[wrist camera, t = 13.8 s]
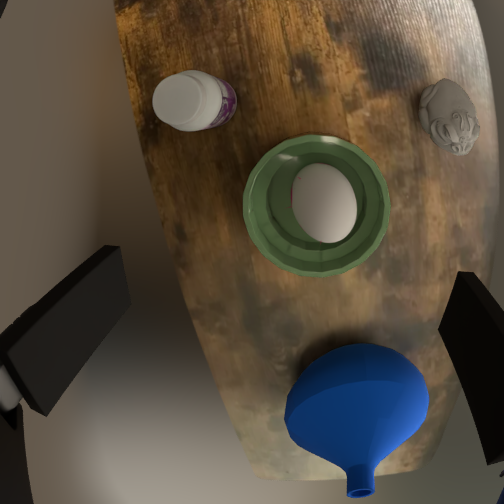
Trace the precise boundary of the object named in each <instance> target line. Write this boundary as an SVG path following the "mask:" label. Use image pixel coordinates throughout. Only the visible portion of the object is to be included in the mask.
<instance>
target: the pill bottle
mask: <svg viewBox="0 0 504 504" xmlns="http://www.w3.org/2000/svg"><path fill="white" fill-rule="evenodd" d="M152 103H153V109H154V111H155V113H156V115H157V116H158V118H159V119H160V120H162V121H163V122H165V123H167V124H169V125H171V126H172V127H174V128H176V129H178V130H181V131H198V130H203V129H209V128H214V127H218V126H221V125H223V124H225V123H226V122H228V121H229V120H230V119H231V117H232V116H233V114H234V113H235V110H236V106H237V97H236V94H235V91H234V89H233V88H232V87H231V86H230V84H228V83H227V82H226V81H224V80H222V79H219V78H217V77H214V76H212V75H209V74H207V73H205V72H202V71H197V70H188V71H183V72H180V73H178V74H175V75H171V76H169V77H167V78H165V79H164V80H162V81H161V82H160V83H159V84H158V86H157V87H156V89H155V91H154V94H153V100H152Z"/></svg>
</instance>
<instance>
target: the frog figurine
mask: <svg viewBox="0 0 504 504" xmlns="http://www.w3.org/2000/svg"><path fill="white" fill-rule="evenodd" d="M418 116H419V119H420V123H421V125H422V127H423V129H424V131H425V132H426V133H428V134H430V138H431V139H432V140H433V142H434V143H435V144H437V145H438V146H439V147H441V148H443V149H445V150H446V151H448V152H450V153H452V154H455V155H465V154H467V153H468V152H469V151H470V150H471V148H472V147H473V144H474V142H475V140H476V139H477V138H478V136H479V131H480V126H479V125H478V124H479V123H478V119H477V118H476V117H477V114H476V109H475V106H474V104H473V103H472V102H471V100H470V98H469V96H468V95H467V93H466V92H465V91H464V90H463V88H462V87H461V86H459V85H458V84H457V83H455V82H453V81H451V80H449V79H445V78H444V79H442V80H440V81H438V82H437V83H436V85H430V86H428V87H426V88H425V89H424V90H423V92H422V95H421V98H420V104H419V113H418Z"/></svg>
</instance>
